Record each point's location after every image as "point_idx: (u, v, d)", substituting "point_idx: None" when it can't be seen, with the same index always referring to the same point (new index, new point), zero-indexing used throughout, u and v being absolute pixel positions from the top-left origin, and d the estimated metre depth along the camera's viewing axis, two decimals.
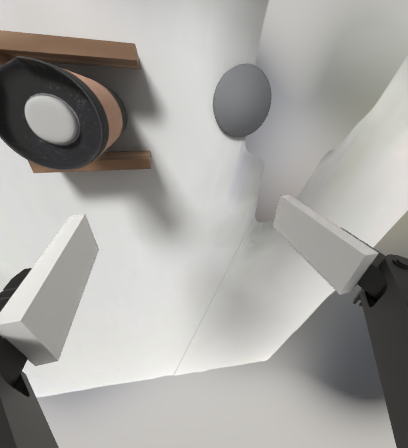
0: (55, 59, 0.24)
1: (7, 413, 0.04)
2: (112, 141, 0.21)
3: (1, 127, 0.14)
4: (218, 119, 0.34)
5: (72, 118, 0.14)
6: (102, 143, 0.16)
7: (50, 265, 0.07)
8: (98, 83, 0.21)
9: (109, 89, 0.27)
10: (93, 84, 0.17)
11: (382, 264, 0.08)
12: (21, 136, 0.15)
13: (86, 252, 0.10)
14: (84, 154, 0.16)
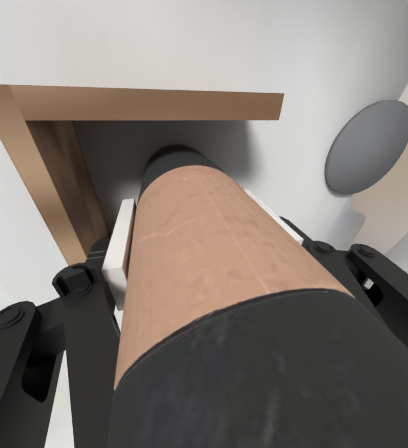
0: None
1: (117, 339, 0.05)
2: None
3: None
4: (331, 175, 0.24)
5: None
6: None
7: (125, 234, 0.09)
8: (229, 177, 0.11)
9: (199, 153, 0.17)
10: None
11: (307, 249, 0.09)
12: None
13: None
14: None
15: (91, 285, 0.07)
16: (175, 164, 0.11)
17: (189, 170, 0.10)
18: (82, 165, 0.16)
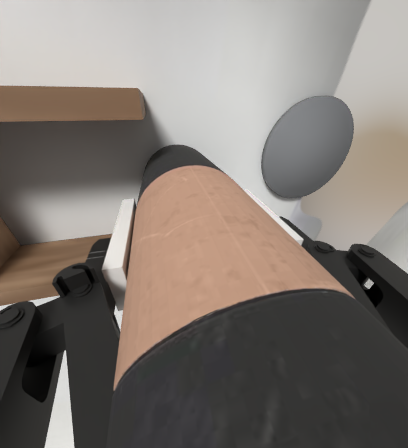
0: None
1: (117, 339, 0.05)
2: None
3: None
4: (268, 179, 0.22)
5: None
6: None
7: (125, 234, 0.09)
8: (228, 177, 0.11)
9: (199, 153, 0.17)
10: (281, 227, 0.07)
11: (307, 249, 0.09)
12: None
13: None
14: None
15: (91, 285, 0.07)
16: (175, 164, 0.11)
17: (189, 170, 0.10)
18: None
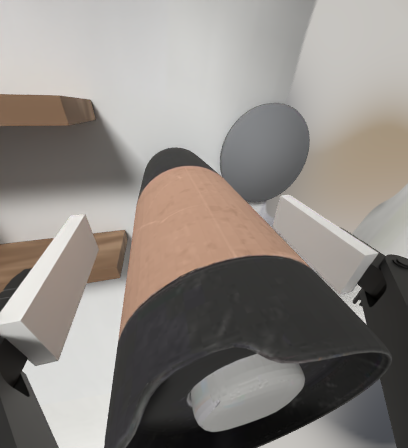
0: None
1: (7, 413, 0.04)
2: None
3: (127, 445, 0.05)
4: None
5: (303, 384, 0.05)
6: None
7: (50, 265, 0.07)
8: (219, 176, 0.12)
9: (195, 155, 0.18)
10: (261, 217, 0.08)
11: (382, 264, 0.08)
12: (161, 423, 0.06)
13: (86, 252, 0.10)
14: None
15: None
16: (172, 165, 0.13)
17: (184, 170, 0.11)
18: None
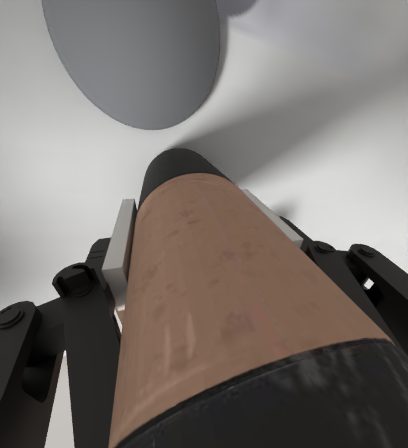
0: None
1: (117, 339, 0.05)
2: (284, 234, 0.07)
3: None
4: (183, 117, 0.15)
5: None
6: None
7: (125, 234, 0.09)
8: (139, 214, 0.10)
9: (146, 174, 0.16)
10: (142, 276, 0.06)
11: (307, 249, 0.09)
12: None
13: None
14: None
15: (91, 285, 0.07)
16: None
17: None
18: None
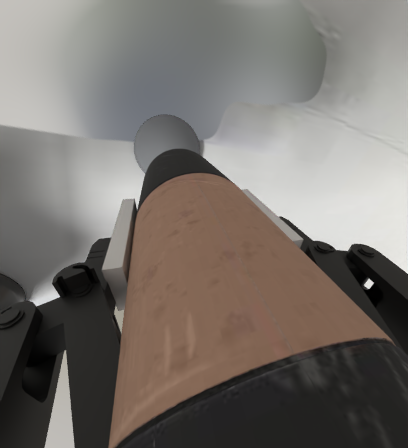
0: None
1: (117, 339, 0.05)
2: (284, 234, 0.07)
3: None
4: None
5: None
6: None
7: (125, 233, 0.09)
8: (139, 214, 0.10)
9: (146, 174, 0.16)
10: (142, 276, 0.06)
11: (306, 249, 0.09)
12: None
13: None
14: None
15: (91, 285, 0.07)
16: None
17: None
18: None
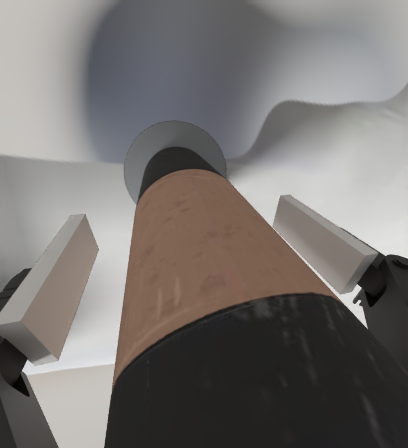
0: None
1: (7, 413, 0.04)
2: (265, 221, 0.08)
3: None
4: None
5: None
6: None
7: (50, 265, 0.07)
8: (138, 206, 0.11)
9: (145, 170, 0.17)
10: (140, 255, 0.07)
11: (382, 264, 0.08)
12: None
13: (86, 252, 0.10)
14: None
15: None
16: None
17: None
18: None
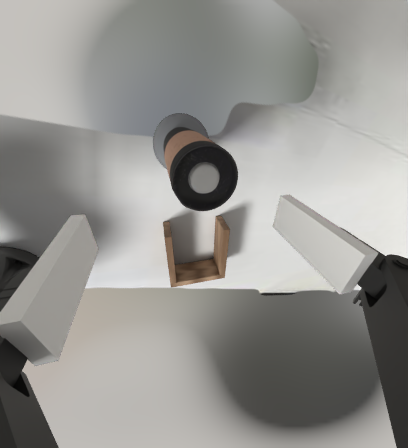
0: None
1: (7, 413, 0.04)
2: None
3: (208, 206, 0.22)
4: None
5: (203, 165, 0.19)
6: (221, 147, 0.19)
7: (50, 265, 0.07)
8: (167, 145, 0.27)
9: (165, 138, 0.33)
10: (173, 147, 0.23)
11: (382, 264, 0.08)
12: (212, 199, 0.22)
13: (86, 252, 0.10)
14: (226, 164, 0.20)
15: None
16: None
17: None
18: (187, 265, 0.54)
